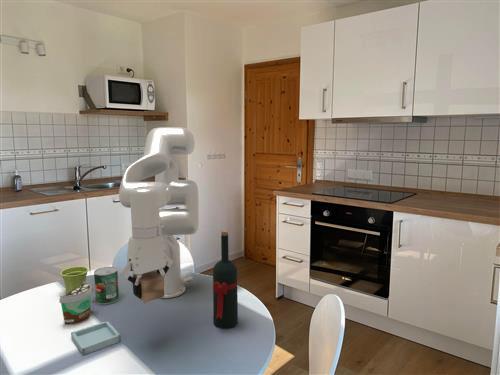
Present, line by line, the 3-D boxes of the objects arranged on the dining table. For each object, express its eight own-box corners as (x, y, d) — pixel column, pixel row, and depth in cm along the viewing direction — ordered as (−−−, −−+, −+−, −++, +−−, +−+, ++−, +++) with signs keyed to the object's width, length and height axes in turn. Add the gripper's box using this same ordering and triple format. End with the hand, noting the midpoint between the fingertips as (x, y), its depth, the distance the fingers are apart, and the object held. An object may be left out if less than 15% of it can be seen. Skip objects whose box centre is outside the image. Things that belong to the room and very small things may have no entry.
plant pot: (81, 285, 149) (79, 264, 148) (95, 291, 144) (93, 269, 142) (57, 294, 142) (55, 271, 140) (71, 300, 136) (69, 277, 135)
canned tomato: (90, 302, 135) (88, 273, 133) (106, 293, 142) (104, 265, 140) (109, 306, 132) (107, 276, 130) (123, 296, 139) (122, 268, 138)
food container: (79, 328, 118) (76, 298, 116) (61, 326, 119) (58, 296, 117) (102, 309, 130) (100, 282, 128) (85, 308, 131) (83, 280, 129)
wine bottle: (206, 330, 116) (204, 236, 111) (218, 315, 126) (216, 227, 121) (231, 334, 114) (230, 238, 109) (241, 318, 124) (240, 228, 119)
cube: (154, 289, 112) (153, 270, 111) (164, 296, 107) (163, 276, 106) (134, 295, 108) (133, 275, 107) (144, 302, 104) (143, 282, 102)
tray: (107, 326, 119) (107, 320, 118) (120, 341, 111) (120, 335, 110) (71, 338, 112) (71, 332, 112) (82, 355, 104) (82, 348, 104)
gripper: (167, 223, 113) (169, 280, 116) (109, 234, 102) (113, 298, 105) (180, 228, 107) (182, 288, 111) (121, 241, 96) (125, 307, 99)
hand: (149, 292), depth 108 cm, fingers closed on cube, 6 cm apart
